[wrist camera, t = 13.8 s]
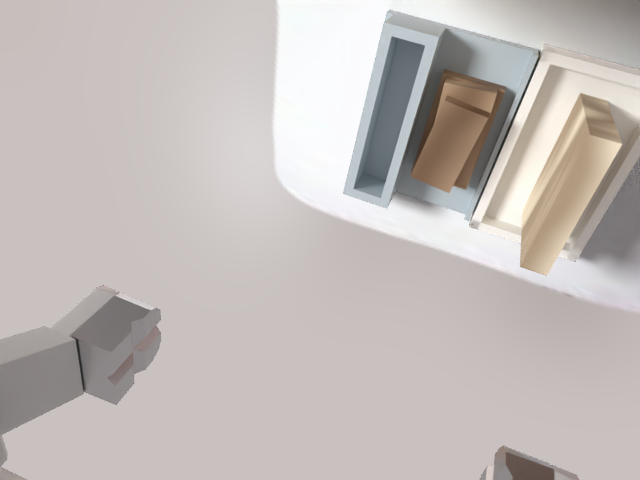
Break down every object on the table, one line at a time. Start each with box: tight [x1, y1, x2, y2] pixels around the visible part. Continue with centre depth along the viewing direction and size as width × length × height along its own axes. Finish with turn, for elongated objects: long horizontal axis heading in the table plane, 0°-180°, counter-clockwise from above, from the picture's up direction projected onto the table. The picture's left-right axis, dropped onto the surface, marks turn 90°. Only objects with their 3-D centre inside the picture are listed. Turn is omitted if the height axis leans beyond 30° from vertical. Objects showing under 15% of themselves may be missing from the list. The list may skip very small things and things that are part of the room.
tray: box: [469, 44, 640, 262], centre depth 43 cm, size 10×16×2 cm, turn 169°
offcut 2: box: [410, 95, 489, 193], centre depth 42 cm, size 4×7×1 cm, turn 163°
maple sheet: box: [520, 93, 622, 276], centre depth 40 cm, size 2×11×9 cm, turn 169°
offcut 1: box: [411, 69, 506, 190], centre depth 44 cm, size 5×9×1 cm, turn 169°
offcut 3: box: [434, 78, 498, 186], centre depth 42 cm, size 4×8×1 cm, turn 173°
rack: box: [343, 10, 539, 221], centre depth 44 cm, size 12×15×4 cm
